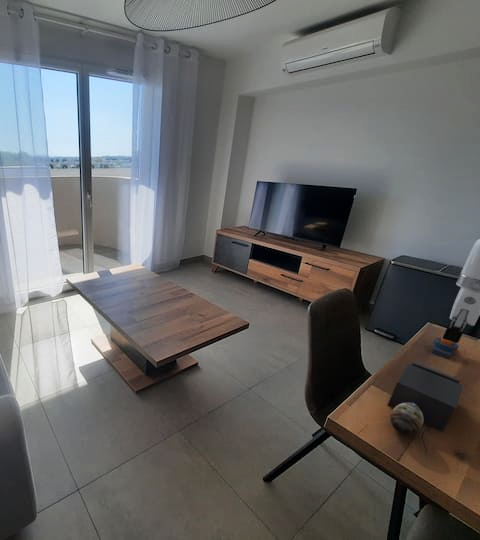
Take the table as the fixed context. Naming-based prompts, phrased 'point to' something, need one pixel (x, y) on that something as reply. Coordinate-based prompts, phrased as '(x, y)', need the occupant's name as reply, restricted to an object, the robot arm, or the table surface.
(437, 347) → the block
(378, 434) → the table surface
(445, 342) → the button
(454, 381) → the drawer
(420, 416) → the seashell
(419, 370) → the dark grey box
